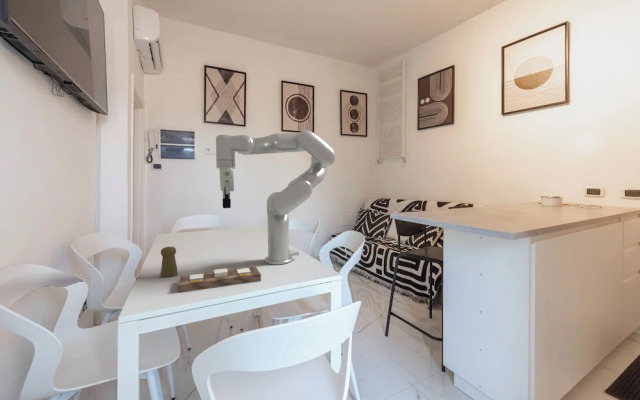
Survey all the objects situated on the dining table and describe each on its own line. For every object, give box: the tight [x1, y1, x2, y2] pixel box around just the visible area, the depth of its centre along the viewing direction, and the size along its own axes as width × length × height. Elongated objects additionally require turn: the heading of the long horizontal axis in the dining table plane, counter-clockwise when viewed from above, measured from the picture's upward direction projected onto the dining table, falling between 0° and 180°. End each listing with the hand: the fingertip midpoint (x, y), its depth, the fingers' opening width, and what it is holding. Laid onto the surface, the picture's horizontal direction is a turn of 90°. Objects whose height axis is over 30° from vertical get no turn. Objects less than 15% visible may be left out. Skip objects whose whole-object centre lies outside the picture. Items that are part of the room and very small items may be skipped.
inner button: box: [236, 267, 250, 275], centre depth 102 cm, size 4×4×2 cm
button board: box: [177, 265, 262, 293], centre depth 99 cm, size 27×10×3 cm, turn 114°
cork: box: [160, 246, 179, 279], centre depth 105 cm, size 6×6×11 cm
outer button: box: [190, 272, 204, 281], centre depth 96 cm, size 4×4×2 cm
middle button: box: [213, 267, 228, 278], centre depth 99 cm, size 4×4×2 cm
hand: (226, 207), depth 116 cm, fingers closed
